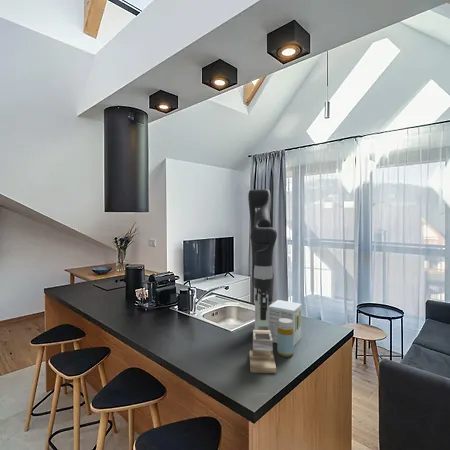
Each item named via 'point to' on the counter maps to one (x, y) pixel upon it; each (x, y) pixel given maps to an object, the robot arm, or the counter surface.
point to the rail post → (259, 321)
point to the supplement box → (284, 311)
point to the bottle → (285, 337)
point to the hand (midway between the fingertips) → (262, 317)
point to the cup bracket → (262, 352)
